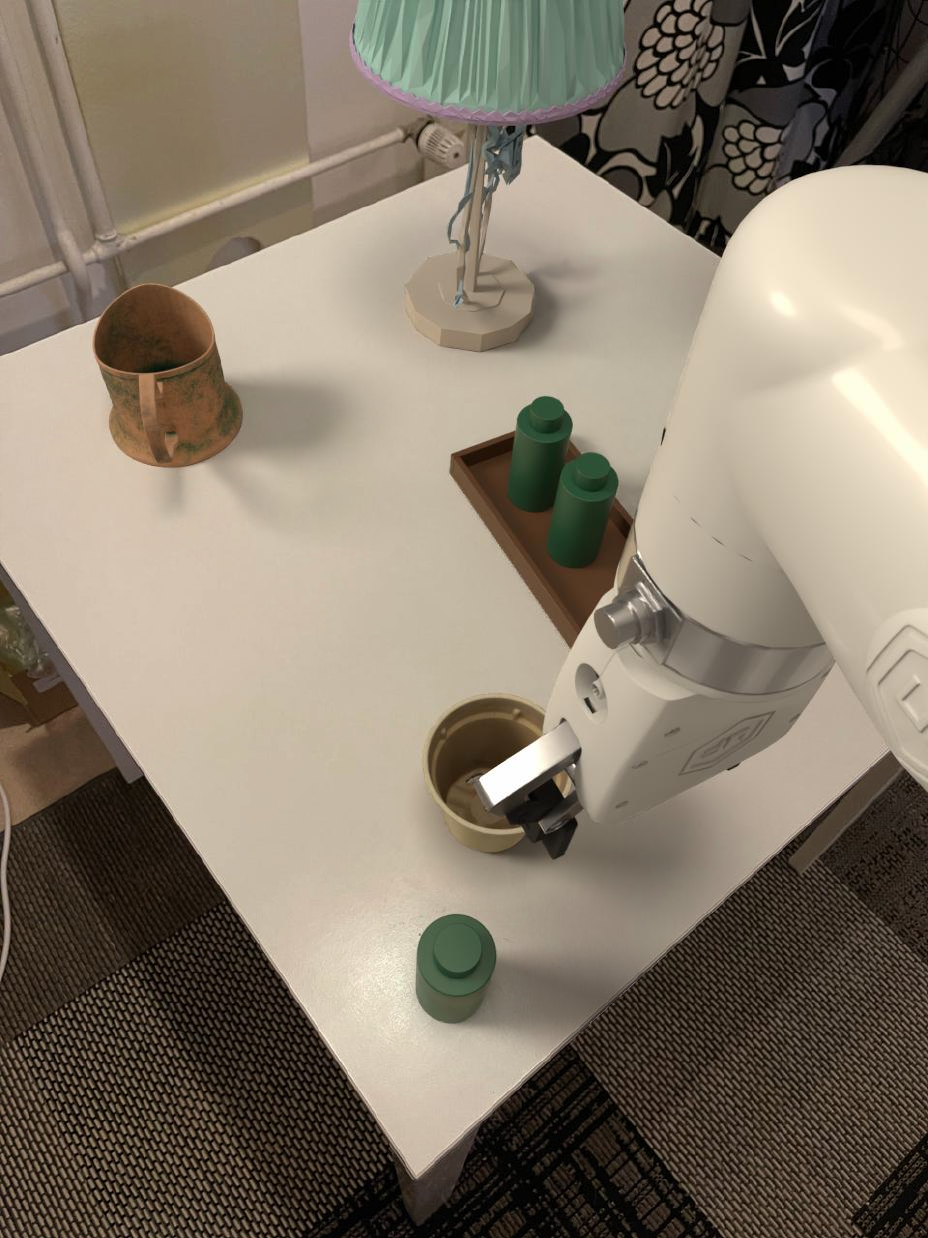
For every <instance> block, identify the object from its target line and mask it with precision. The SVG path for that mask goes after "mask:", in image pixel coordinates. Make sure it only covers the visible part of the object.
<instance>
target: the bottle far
mask: <svg viewBox="0 0 928 1238" xmlns="http://www.w3.org/2000/svg"><path fill="white" fill-rule="evenodd" d="M573 428H574V423H573V418H572V416H571V415H570V413H569V412H568V411H567V410H566V409H565V406H564V404H563V403H562V401H560V400H559V399H558V398H557V397H553V396H550V395H542V396H539V397H538V396H537V397H536V398H535V399H533V400H532V402H531V403H530V404H528V405H526V406H524V407H523V408H522V409H521V410H520V412H519V413H518V415H517V418H516V423H515V430H514V431H515V437H514V444H513V451H512V459H511V466H510V473H509V480H508V487H507V494H508V497H509V499H510V501H511V502H512V503H513V504H514V505H515V506H516V507H518V508H519V509H522V510H524V511H528V512H541V511H545V510H547V509H549V508H551V507H552V506H553V505H554V504H555V499H556V494H557V489H558V485H559V480H560V475H561V471H562V469H563V468H564V465H565V461H566V456H567V451H568V447H569V442H570V441H571V438H572V437H571V436H572V433H573Z"/></svg>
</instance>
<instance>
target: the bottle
mask: <svg viewBox="0 0 928 1238" xmlns="http://www.w3.org/2000/svg"><path fill="white" fill-rule="evenodd" d="M416 949H417V950H416V961H415V963H416V964H415V965H416V966H415V994H416V998H417V1000H418V1003H419V1005H420V1007H421V1008H422V1009H423V1011H424V1012H425V1013H426V1014H427V1015H428V1016H430V1018H433V1019H434V1020H436V1021H438V1022H442V1023H446V1024H455V1023H460V1022H464V1021H465V1020H467V1019H469V1018H470V1017H472V1016H473V1015H474V1014H475V1013H476V1012H477V1011H478V1009H479V1008H480V1007H481V1005H482V1003H483V1001H484V998H485V996H486V993H487V990H488V988H489V986H490V982H491V980H492V977H493V975H494V972H495V969H496V964H497V955H498V954H497V945H496V943H495V940H494V938H493V936H492V934H491V932H490V930H489V929H488V928H487V927H486V925H484V924H483V922H481V921H480V920H478V919H477V918H475V917H473V916H470V915H467V914H462V913H452V914H451V913H450V914H446V915H443V916H441V917H438V918H437V919H435V920H433V921H432V922H431V923H430V924H428V925H427V927H426V928H425V929H424V931H423V932H422V933H421V936H420V938H419V940H418V944H417V948H416Z"/></svg>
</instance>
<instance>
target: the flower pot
mask: <svg viewBox="0 0 928 1238" xmlns="http://www.w3.org/2000/svg"><path fill="white" fill-rule="evenodd" d="M545 713H546V710H545V709H544V708H543V707H542V706H540V705H538V703H535V702H534V701H532V700H529V699H527V698H524V697H523V696H518V695H514V694H509V693H501V692H491V693H482V694H481V693H480V694H478V695H474V696H470V697H467V698H465V699H463V700H461V701H459V702H456V703H455V704H453V705H451V706H450V707H449V708H448V709H446V710H445V711H444V712H443V713H442V714H441V715H440V716H439V717H438V719H437V720H436V721H435V722H434V724H433V725H432V726H431V728H430V730H429V732H428V733H427V737H426V739H425V742H424V747H423V750H422V769H423V776H424V779H425V783H426V786H427V789H428V791H429V792H430V795H431V796H432V799H433V800H434V801H435V803H436V804H437V805H438V807H439V808H440V809H441V810H442V814H443V818H444V819H443V820H444V822H445V825H446V827H447V829H448V831H449V832H450V833H451V835H452V836H453V837H454V838H455V839H456V841H458V842H459V843H460V844H461V845H464V846H466V847H468V848H470V849H472V850H475V851H478V852H481V853H498V852H502V851H505V850H508V849H510V848H512V847H514V846H515V845H516V844H518V843H519V842H520V841H521V840H522V839H523V838H524V837H525V836H526V833H525V832H524V830H523V828H522V826H521V825H519V824H518V825H510V824H509V822H508V820H507V818H506V817H503V818H500V817H498V816H495V815H492V814H490V813H489V812H488V811H487V809H486V807H485V805H484V803H483V802H482V800H481V798H480V796H479V794H478V793H477V791H476V789H475V787H474V783H475V782H476V781H477V780H474V781H471V782H469V783H468V781H469V780H470V779H472V778H474V777H476V776H479V775H482V776H484V775H485V774H487V773H488V772H490V771H491V770H493V769H494V768H496V767H497V766H499V765H500V764H502V763H503V762H505V761H506V760H508V759H509V758H511V757H512V756H513V755H515V754H516V753H518V752H519V751H521V750H522V749H524V748H525V747H527V746H528V745H530V744H531V743H533V742H534V741H536V740H537V739H539V738H540V737H542V736H543V724H544V718H545ZM553 780H554V781H555V783H556V785H557V786H558V788H559V790H560V791H561V793H562V795H563V796H564V798H566V797H567V796H568V795H569V794H570V793H571V790H572V786H573V782H572V781H571V779H570V778H569V776H568V774H567V773H566V771H565V770H563V771H562V772H560V773H559V774H557V775H556V776H554V777H553Z"/></svg>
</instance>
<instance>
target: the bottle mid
mask: <svg viewBox="0 0 928 1238" xmlns="http://www.w3.org/2000/svg"><path fill="white" fill-rule="evenodd" d="M581 454H582V455H580V456H579V457H578V458H577V459H574V460H572V461H570V462H569V463H567V464H566V465H565V466H564V468H563V469H562V471H561V475H560V480H559V485H558V489H557V494H556V499H555V504H554V508H553V513H552V518H551V523H550V527H549V532H548V537H547V542H546V548H547V551H548V553H549V555H550V556H551V558H552V559H553V560H554V561H556V562H557V563H558V564H560V565H562V566H565V567H569V568H581V567H585V566H587V565H589V564H591V563H592V562H593V561H594V560H595V559H596V558H597V556H598V553H599V550H600V547H601V543H602V540H603V536H604V533H605V530H606V526H607V523H608V519H609V516H610V513H611V509H612V506H613V502H614V499H615V497H616V496H617V492H618V488H619V484H620V481H619V477H618V474H617V472H616V471H615V468H613V467H612V466H611V463H610V461H609V459H608V458H607V457H605V456H604V455H603V454H601V453H598V452H594V451H593V452H592V451H589V452H588V451H587V452H583V453H581Z"/></svg>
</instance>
